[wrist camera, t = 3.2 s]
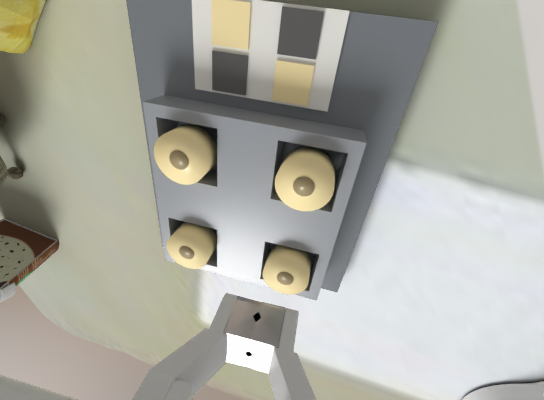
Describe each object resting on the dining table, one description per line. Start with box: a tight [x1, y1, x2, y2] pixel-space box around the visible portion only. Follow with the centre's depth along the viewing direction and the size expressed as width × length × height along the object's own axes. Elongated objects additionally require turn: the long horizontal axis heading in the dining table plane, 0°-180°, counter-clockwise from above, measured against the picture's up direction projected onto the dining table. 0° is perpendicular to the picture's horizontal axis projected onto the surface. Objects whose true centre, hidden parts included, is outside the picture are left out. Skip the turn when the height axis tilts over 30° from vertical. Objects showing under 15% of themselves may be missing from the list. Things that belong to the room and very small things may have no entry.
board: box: [126, 0, 438, 300], centre depth 25 cm, size 22×26×5 cm
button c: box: [275, 147, 335, 211], centre depth 21 cm, size 4×4×2 cm
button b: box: [167, 222, 217, 269], centre depth 27 cm, size 4×4×2 cm
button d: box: [154, 124, 217, 185], centre depth 22 cm, size 4×4×2 cm
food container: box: [0, 218, 59, 303], centre depth 39 cm, size 12×6×10 cm, turn 73°
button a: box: [263, 245, 311, 294], centre depth 26 cm, size 4×4×2 cm
